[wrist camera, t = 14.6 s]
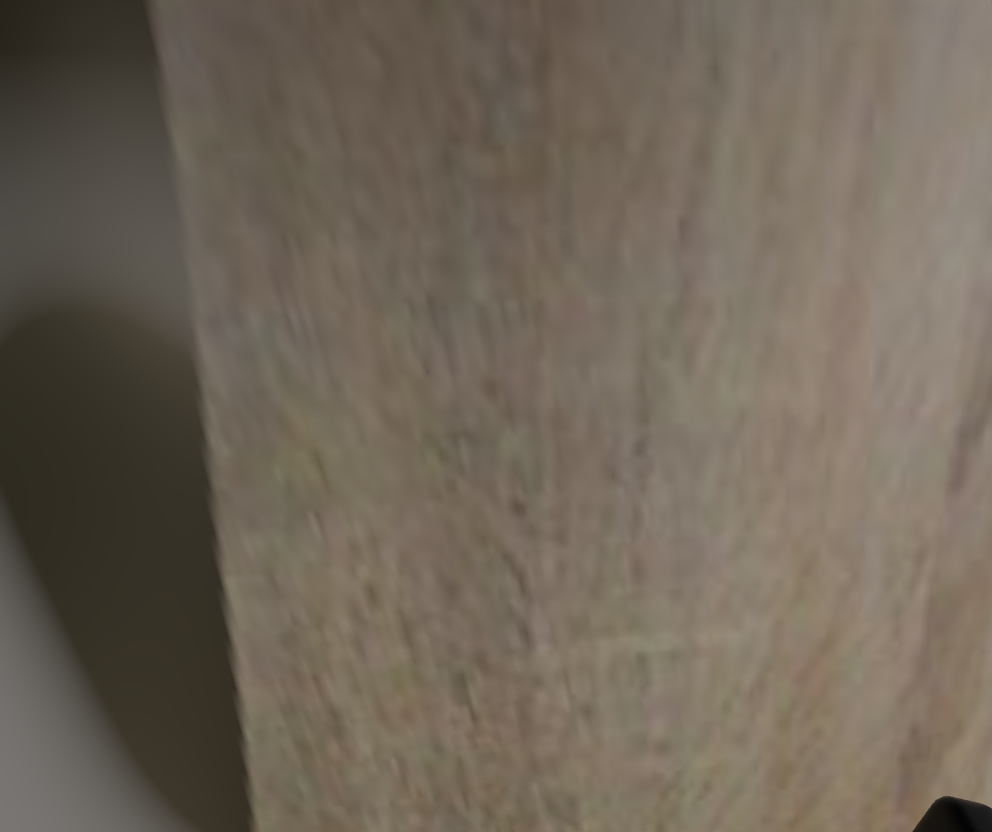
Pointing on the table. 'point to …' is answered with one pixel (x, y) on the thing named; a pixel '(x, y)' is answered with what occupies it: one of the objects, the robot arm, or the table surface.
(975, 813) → the robot arm
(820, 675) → the table surface
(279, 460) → the table surface
